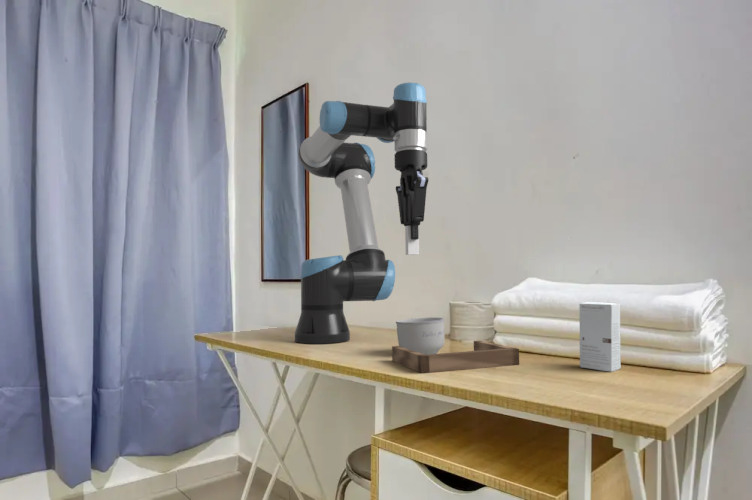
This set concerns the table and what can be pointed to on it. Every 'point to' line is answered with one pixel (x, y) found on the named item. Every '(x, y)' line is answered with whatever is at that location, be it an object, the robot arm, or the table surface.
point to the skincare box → (600, 336)
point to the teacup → (421, 334)
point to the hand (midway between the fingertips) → (412, 254)
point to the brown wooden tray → (457, 358)
